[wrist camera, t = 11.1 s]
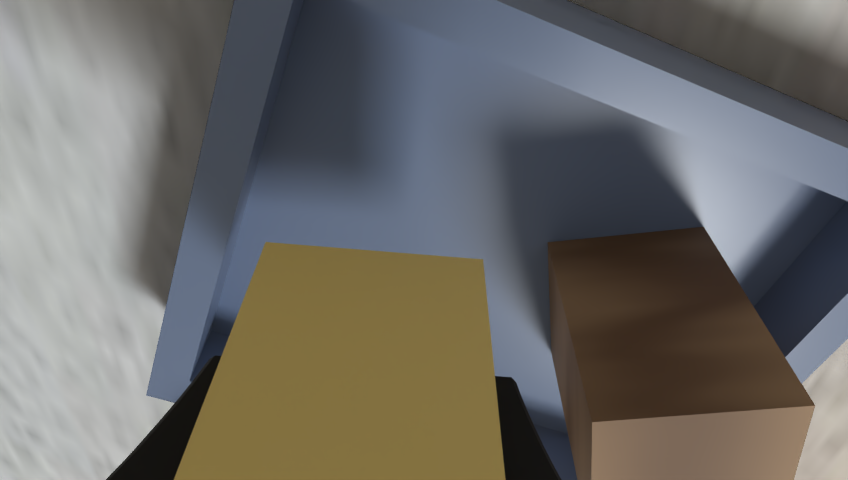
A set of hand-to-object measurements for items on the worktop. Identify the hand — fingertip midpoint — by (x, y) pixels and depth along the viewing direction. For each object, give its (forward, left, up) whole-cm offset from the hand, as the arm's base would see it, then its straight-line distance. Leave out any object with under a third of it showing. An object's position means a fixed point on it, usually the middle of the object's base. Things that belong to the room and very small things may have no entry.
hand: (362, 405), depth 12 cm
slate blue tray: (-4, 0, -7) cm, 8 cm away
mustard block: (0, 0, -2) cm, 2 cm away
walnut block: (-7, 0, -6) cm, 9 cm away
